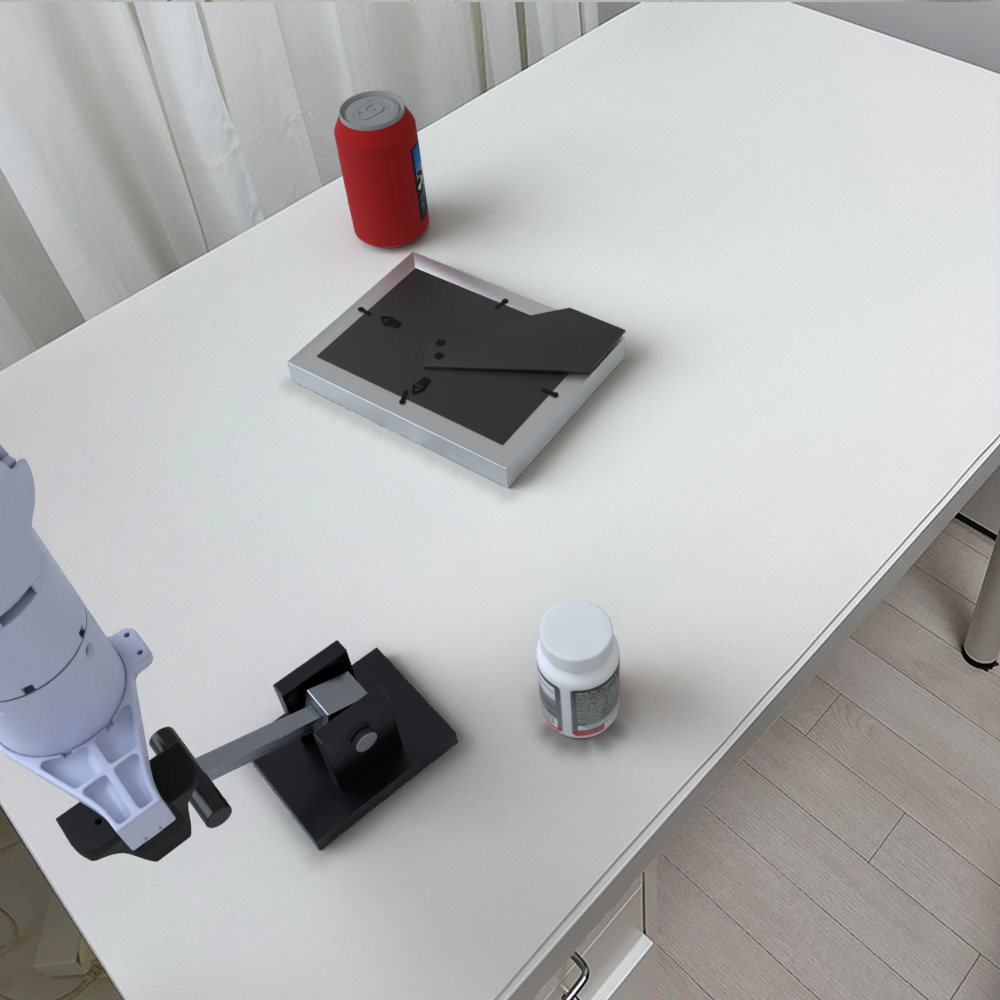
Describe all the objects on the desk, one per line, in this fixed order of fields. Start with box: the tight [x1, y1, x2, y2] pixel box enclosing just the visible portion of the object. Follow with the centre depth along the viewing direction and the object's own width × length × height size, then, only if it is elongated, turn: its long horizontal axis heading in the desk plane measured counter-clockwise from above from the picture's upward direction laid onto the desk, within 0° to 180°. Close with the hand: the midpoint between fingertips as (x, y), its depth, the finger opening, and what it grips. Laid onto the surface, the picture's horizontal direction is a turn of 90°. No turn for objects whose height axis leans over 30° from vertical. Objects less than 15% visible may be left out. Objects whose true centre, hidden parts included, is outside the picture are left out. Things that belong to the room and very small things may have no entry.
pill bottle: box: [535, 599, 621, 739], centre depth 63 cm, size 5×5×8 cm
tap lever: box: [148, 671, 367, 829], centre depth 59 cm, size 11×6×2 cm, turn 130°
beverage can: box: [333, 90, 430, 249], centre depth 93 cm, size 7×7×12 cm
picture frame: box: [286, 251, 626, 489], centre depth 85 cm, size 16×3×21 cm
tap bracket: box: [251, 639, 459, 852], centre depth 63 cm, size 10×8×7 cm
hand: (131, 786), depth 54 cm, fingers open, 7 cm apart
